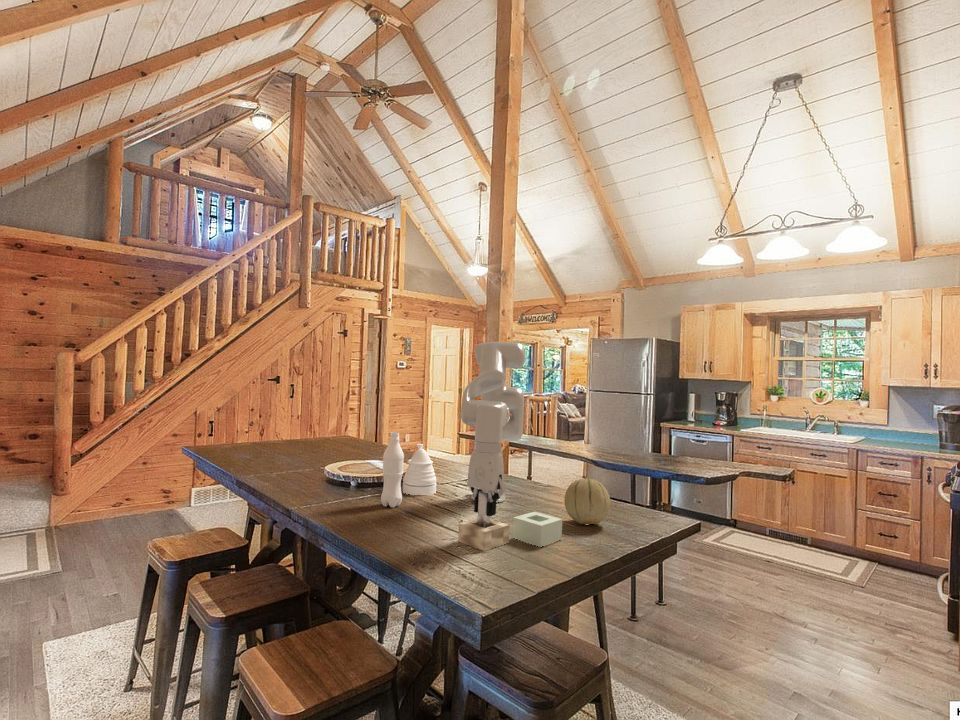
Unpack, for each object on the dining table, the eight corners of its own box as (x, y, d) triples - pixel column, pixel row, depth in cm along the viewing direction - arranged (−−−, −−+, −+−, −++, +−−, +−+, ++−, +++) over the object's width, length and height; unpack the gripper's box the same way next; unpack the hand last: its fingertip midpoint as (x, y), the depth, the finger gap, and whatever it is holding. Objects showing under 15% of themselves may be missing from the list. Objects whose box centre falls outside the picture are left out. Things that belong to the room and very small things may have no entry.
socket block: (458, 541, 142) (458, 523, 143) (482, 534, 150) (483, 516, 150) (484, 551, 136) (485, 532, 136) (508, 543, 143) (509, 525, 143)
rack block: (512, 538, 147) (513, 517, 147) (533, 531, 154) (534, 511, 155) (540, 547, 140) (541, 525, 140) (561, 540, 148) (562, 519, 148)
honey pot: (398, 488, 202) (400, 442, 202) (429, 487, 207) (431, 442, 208) (408, 496, 190) (410, 447, 190) (440, 494, 195) (443, 447, 196)
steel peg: (473, 535, 143) (475, 492, 143) (483, 532, 146) (485, 489, 146) (484, 539, 140) (486, 494, 140) (493, 535, 143) (495, 492, 143)
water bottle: (377, 507, 174) (380, 432, 174) (385, 502, 181) (389, 430, 181) (396, 509, 172) (400, 434, 173) (404, 504, 179) (408, 432, 180)
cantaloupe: (586, 533, 155) (588, 483, 155) (553, 520, 167) (555, 474, 167) (619, 527, 163) (621, 480, 163) (586, 515, 175) (588, 471, 176)
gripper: (457, 444, 146) (454, 509, 146) (501, 453, 135) (498, 523, 135) (475, 442, 152) (472, 504, 152) (519, 450, 140) (516, 518, 140)
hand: (484, 512), depth 143 cm, fingers closed on steel peg, 4 cm apart
